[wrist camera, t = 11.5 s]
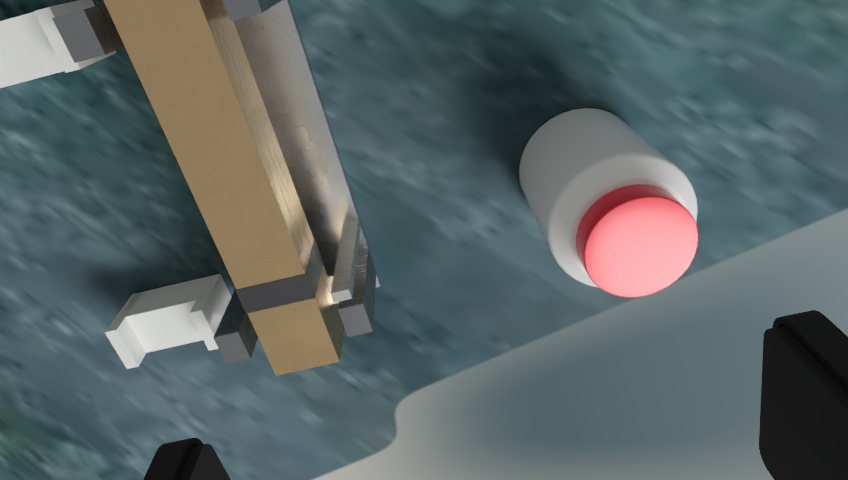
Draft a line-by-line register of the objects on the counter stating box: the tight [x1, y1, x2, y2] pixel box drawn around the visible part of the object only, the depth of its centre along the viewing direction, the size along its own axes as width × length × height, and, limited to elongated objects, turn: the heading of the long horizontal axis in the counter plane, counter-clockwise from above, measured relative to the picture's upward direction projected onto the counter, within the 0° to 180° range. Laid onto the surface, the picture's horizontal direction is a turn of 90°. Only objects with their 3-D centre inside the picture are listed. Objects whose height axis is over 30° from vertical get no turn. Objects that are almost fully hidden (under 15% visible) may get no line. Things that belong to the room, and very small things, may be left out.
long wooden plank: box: [104, 0, 344, 375], centre depth 32 cm, size 23×4×4 cm, turn 14°
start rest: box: [0, 0, 231, 369], centre depth 36 cm, size 21×6×4 cm, turn 14°
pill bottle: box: [519, 108, 698, 297], centre depth 33 cm, size 8×8×11 cm
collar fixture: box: [52, 0, 380, 364], centre depth 33 cm, size 22×9×9 cm, turn 14°
